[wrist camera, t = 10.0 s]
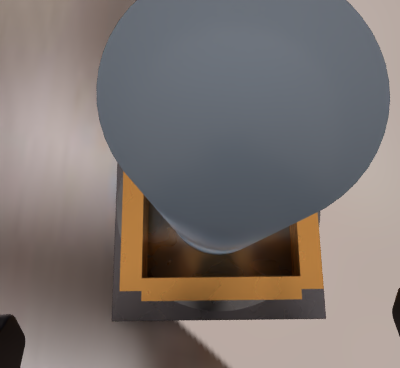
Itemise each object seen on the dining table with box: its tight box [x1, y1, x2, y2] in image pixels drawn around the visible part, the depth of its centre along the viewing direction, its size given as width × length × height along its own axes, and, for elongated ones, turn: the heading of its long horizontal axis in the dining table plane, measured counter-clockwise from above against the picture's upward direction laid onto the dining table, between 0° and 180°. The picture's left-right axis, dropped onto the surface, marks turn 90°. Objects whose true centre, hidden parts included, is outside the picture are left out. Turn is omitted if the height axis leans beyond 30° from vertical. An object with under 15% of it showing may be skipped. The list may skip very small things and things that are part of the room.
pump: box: [97, 0, 390, 255], centre depth 12 cm, size 6×4×12 cm
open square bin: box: [112, 164, 326, 321], centre depth 19 cm, size 11×11×6 cm
